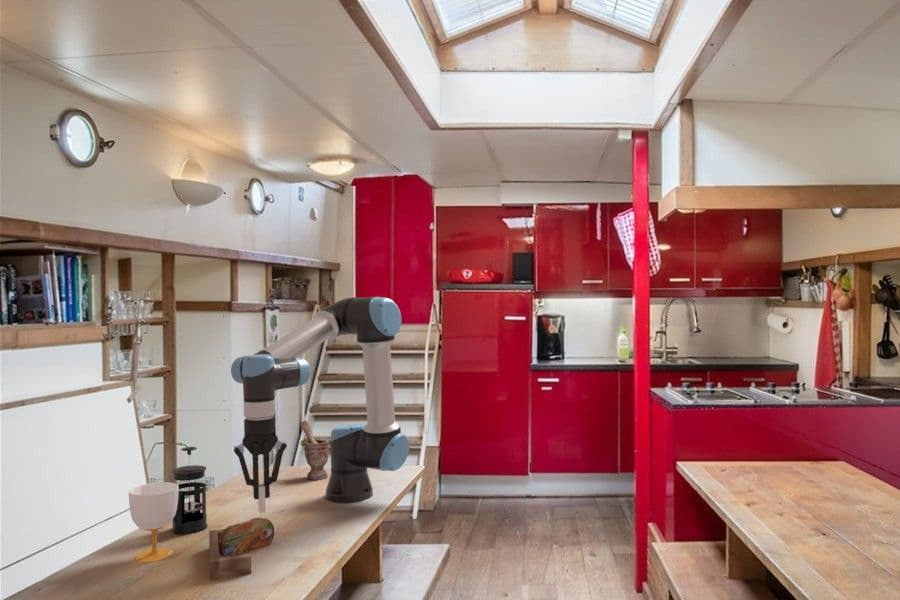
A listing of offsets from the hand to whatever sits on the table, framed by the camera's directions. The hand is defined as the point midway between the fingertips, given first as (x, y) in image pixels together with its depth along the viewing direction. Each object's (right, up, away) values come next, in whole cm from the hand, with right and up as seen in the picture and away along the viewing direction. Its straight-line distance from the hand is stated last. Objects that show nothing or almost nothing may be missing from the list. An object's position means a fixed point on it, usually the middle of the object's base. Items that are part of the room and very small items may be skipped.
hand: (262, 511), depth 167 cm
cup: (-28, -12, +2) cm, 30 cm away
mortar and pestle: (-3, -12, +75) cm, 76 cm away
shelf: (-7, -12, -3) cm, 14 cm away
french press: (-27, -12, +21) cm, 36 cm away
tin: (-5, -12, +3) cm, 13 cm away
